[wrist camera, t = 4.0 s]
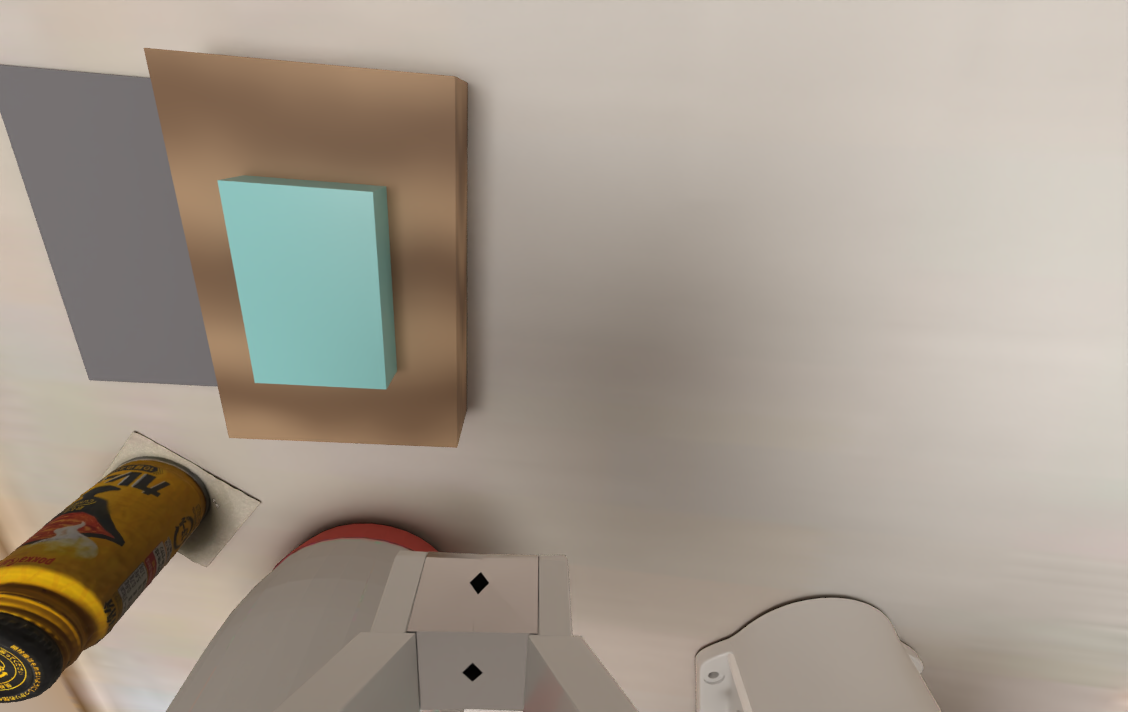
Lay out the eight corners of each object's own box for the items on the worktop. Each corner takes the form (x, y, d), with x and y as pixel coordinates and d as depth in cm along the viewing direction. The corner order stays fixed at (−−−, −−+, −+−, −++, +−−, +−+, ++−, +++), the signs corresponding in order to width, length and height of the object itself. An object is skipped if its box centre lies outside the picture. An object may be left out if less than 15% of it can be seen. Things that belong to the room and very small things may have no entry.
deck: (466, 410, 32) (457, 447, 28) (265, 400, 31) (229, 438, 28) (467, 82, 25) (454, 76, 21) (204, 59, 24) (143, 47, 20)
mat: (254, 385, 31) (251, 387, 31) (93, 377, 30) (89, 380, 30) (197, 82, 24) (193, 81, 24) (-10, 64, 24) (-16, 63, 23)
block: (396, 370, 26) (386, 389, 25) (274, 364, 26) (254, 382, 24) (386, 186, 23) (372, 191, 21) (243, 175, 22) (217, 180, 20)
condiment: (135, 429, 32) (-78, 591, 21) (262, 500, 34) (132, 677, 23) (86, 501, 34) (-131, 683, 23) (209, 563, 36) (67, 753, 26)
